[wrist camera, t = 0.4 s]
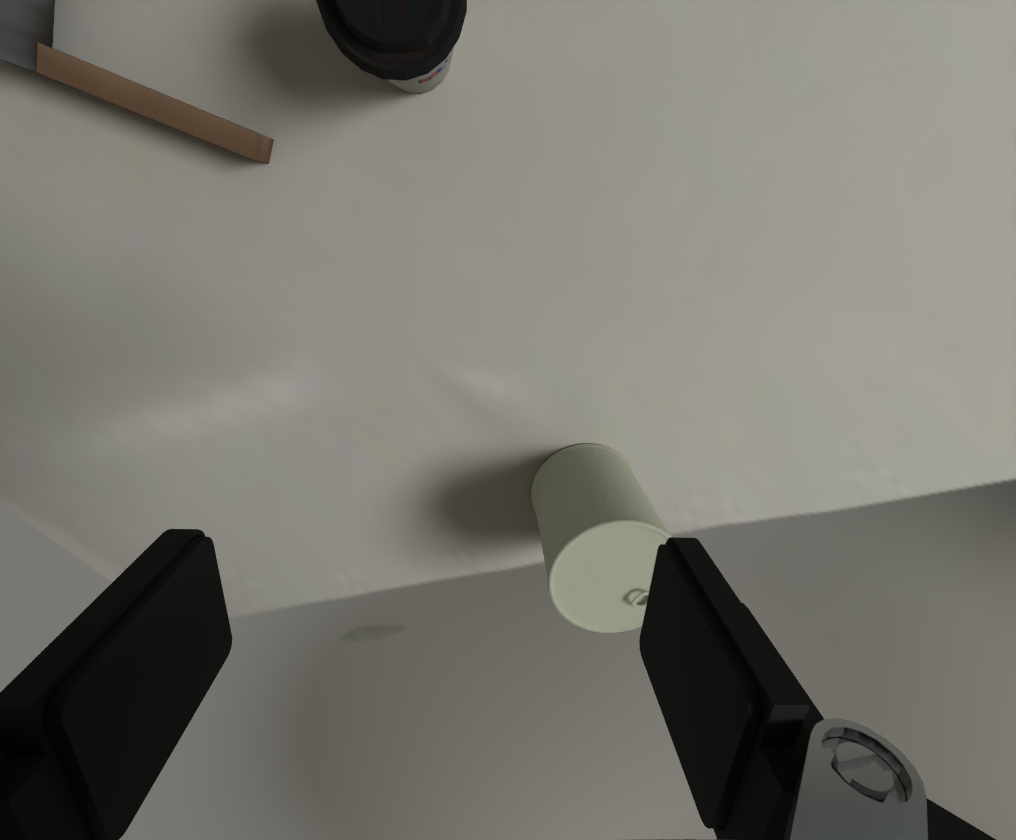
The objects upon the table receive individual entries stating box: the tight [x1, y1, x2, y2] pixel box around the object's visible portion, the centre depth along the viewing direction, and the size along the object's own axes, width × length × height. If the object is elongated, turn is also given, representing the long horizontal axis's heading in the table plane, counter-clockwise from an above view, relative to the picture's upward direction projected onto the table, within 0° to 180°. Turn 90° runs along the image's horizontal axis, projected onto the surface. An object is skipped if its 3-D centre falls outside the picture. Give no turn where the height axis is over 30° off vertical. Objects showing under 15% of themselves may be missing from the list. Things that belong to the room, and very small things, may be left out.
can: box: [531, 444, 671, 633], centre depth 37 cm, size 9×9×12 cm
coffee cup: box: [317, 0, 467, 93], centre depth 26 cm, size 7×7×10 cm
